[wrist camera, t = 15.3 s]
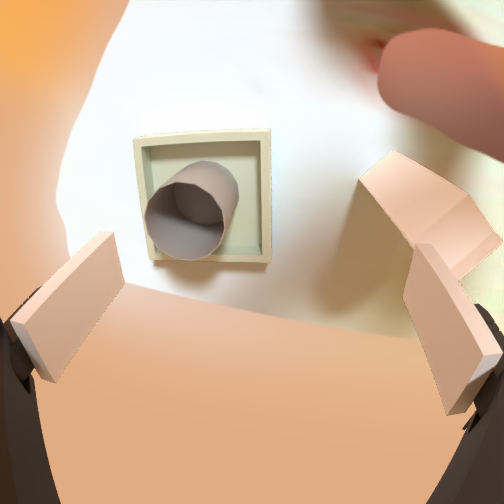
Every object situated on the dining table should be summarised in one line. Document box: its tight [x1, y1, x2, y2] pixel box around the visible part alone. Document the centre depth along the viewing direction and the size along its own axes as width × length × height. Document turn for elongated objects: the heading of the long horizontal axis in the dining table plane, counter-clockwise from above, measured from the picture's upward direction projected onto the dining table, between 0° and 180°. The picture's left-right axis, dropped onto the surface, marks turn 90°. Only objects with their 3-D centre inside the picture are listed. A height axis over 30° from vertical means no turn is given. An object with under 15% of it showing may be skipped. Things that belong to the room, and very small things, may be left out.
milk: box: [359, 150, 503, 281], centre depth 28 cm, size 6×6×22 cm
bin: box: [133, 129, 272, 263], centre depth 39 cm, size 16×16×4 cm
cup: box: [144, 160, 239, 261], centre depth 36 cm, size 8×8×10 cm
